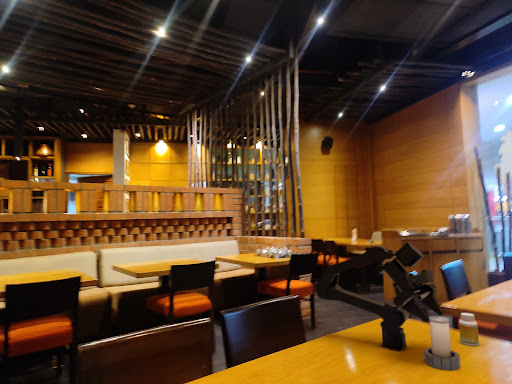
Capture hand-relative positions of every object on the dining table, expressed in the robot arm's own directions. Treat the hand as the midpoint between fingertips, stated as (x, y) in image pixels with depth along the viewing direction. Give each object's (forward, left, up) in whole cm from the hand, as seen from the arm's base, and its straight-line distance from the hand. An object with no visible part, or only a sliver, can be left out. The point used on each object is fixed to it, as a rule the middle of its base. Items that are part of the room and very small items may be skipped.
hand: (435, 317), depth 103 cm
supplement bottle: (+4, +21, -12) cm, 25 cm away
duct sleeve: (+2, -3, -12) cm, 13 cm away
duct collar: (+2, -3, -12) cm, 13 cm away
